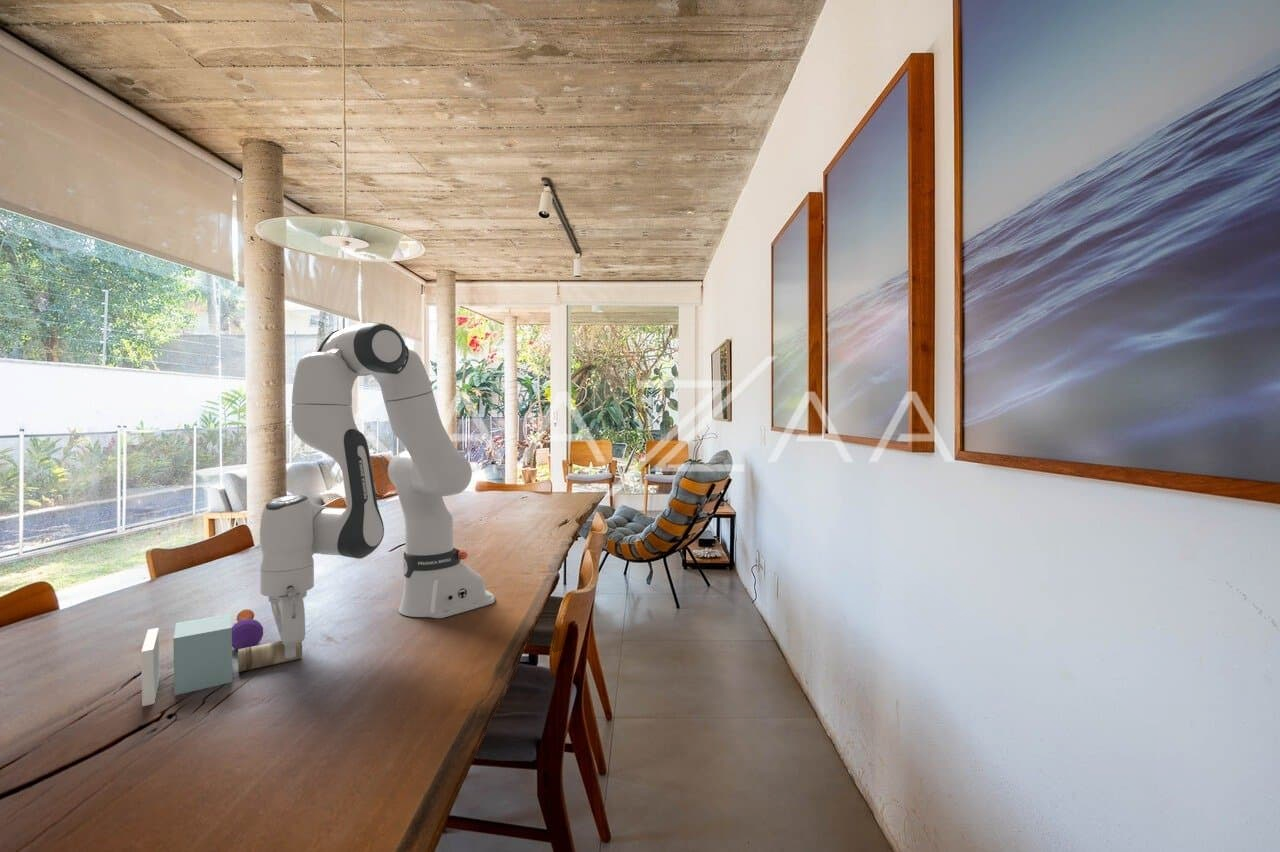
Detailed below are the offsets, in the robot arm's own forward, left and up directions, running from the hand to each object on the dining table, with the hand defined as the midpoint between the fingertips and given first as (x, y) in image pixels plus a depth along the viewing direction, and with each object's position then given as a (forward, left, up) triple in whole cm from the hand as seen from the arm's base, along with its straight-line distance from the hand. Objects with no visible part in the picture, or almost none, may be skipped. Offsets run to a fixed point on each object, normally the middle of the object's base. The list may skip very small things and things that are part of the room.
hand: (288, 651), depth 110 cm
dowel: (+3, 0, -2) cm, 3 cm away
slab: (+20, 0, -2) cm, 20 cm away
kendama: (+6, -19, -2) cm, 20 cm away
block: (+13, 0, -2) cm, 13 cm away
